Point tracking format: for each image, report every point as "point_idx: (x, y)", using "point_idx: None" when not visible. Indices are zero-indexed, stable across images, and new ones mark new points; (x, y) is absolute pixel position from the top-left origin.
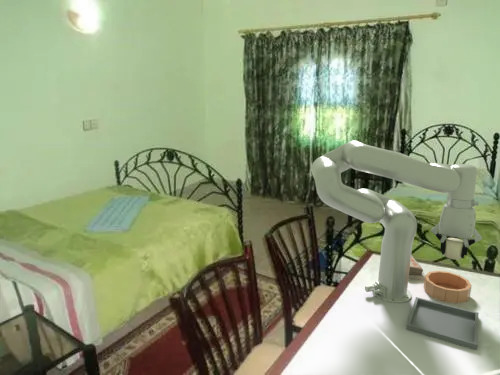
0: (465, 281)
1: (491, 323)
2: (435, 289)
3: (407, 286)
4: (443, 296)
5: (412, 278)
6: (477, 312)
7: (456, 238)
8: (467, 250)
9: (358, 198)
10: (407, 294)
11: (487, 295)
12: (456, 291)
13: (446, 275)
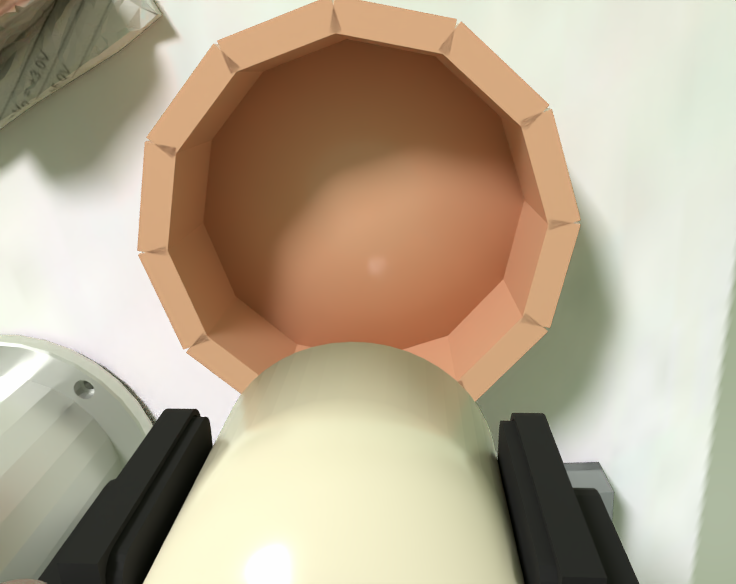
0: (519, 126)
1: (683, 466)
2: None
3: (87, 505)
4: None
5: (46, 95)
6: (607, 491)
7: (331, 578)
8: (615, 545)
9: None
10: (122, 450)
11: (700, 21)
12: None
13: (319, 43)
